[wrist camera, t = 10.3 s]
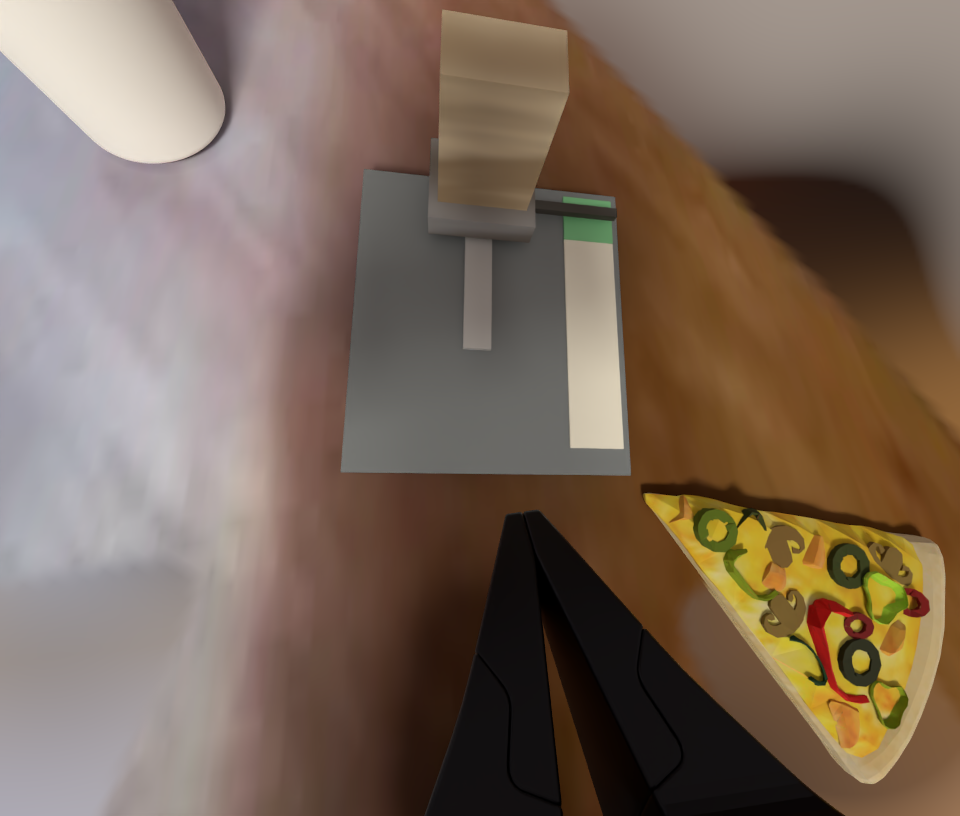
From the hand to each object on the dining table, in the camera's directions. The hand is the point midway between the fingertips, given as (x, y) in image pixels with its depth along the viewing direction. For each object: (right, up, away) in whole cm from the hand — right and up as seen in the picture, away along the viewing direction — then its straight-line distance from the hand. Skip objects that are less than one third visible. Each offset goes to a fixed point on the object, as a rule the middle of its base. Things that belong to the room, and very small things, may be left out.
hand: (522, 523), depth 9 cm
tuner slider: (+2, +15, +13) cm, 20 cm away
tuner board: (-1, +8, +14) cm, 16 cm away
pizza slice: (+18, -8, +15) cm, 24 cm away
